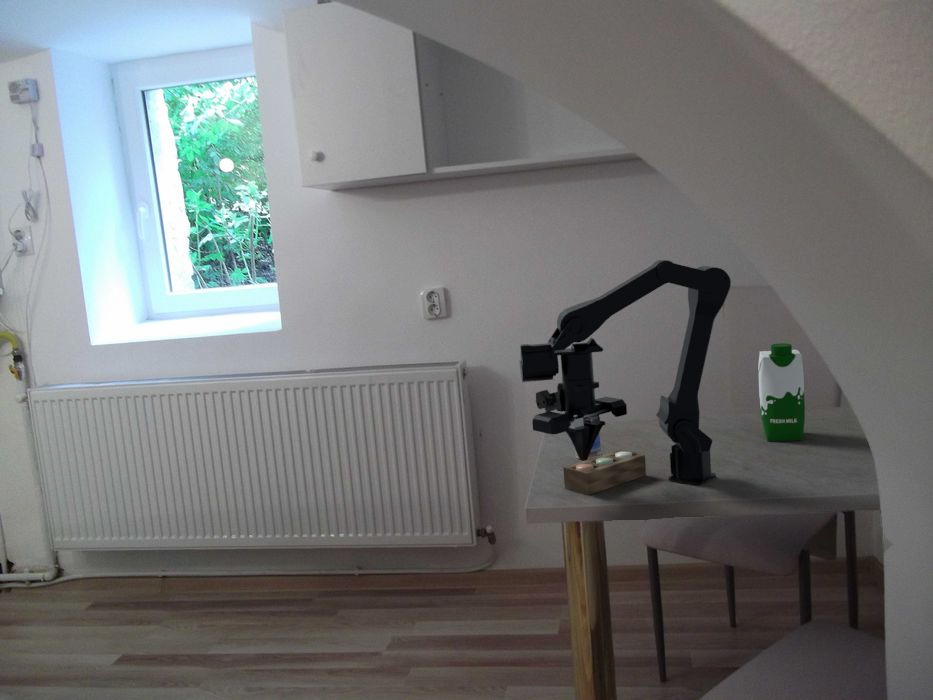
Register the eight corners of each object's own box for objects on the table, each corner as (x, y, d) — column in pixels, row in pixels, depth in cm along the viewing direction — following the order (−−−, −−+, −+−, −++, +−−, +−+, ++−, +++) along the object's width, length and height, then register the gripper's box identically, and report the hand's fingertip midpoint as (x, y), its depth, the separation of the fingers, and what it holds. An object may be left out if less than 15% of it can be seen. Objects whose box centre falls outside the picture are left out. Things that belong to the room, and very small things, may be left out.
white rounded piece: (624, 461, 163) (623, 450, 163) (636, 464, 161) (635, 453, 160) (612, 465, 162) (611, 454, 161) (624, 468, 159) (623, 457, 159)
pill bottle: (602, 452, 178) (599, 407, 176) (599, 460, 173) (596, 414, 171) (577, 453, 179) (573, 408, 178) (573, 460, 174) (570, 414, 173)
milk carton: (763, 442, 175) (759, 347, 172) (759, 431, 183) (755, 341, 180) (808, 441, 172) (805, 345, 169) (802, 430, 181) (799, 338, 178)
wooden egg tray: (621, 469, 165) (620, 449, 165) (646, 475, 160) (644, 454, 160) (564, 487, 157) (563, 467, 156) (588, 495, 152) (587, 473, 151)
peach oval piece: (585, 474, 158) (584, 462, 157) (597, 477, 155) (596, 465, 155) (573, 478, 156) (572, 466, 155) (584, 481, 153) (584, 470, 153)
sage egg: (605, 467, 160) (604, 456, 160) (617, 470, 158) (616, 459, 158) (593, 471, 159) (592, 460, 158) (605, 474, 156) (604, 463, 156)
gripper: (584, 365, 164) (590, 442, 167) (510, 381, 154) (516, 464, 156) (626, 370, 155) (631, 451, 158) (550, 388, 145) (556, 475, 147)
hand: (583, 460), depth 155 cm, fingers closed
